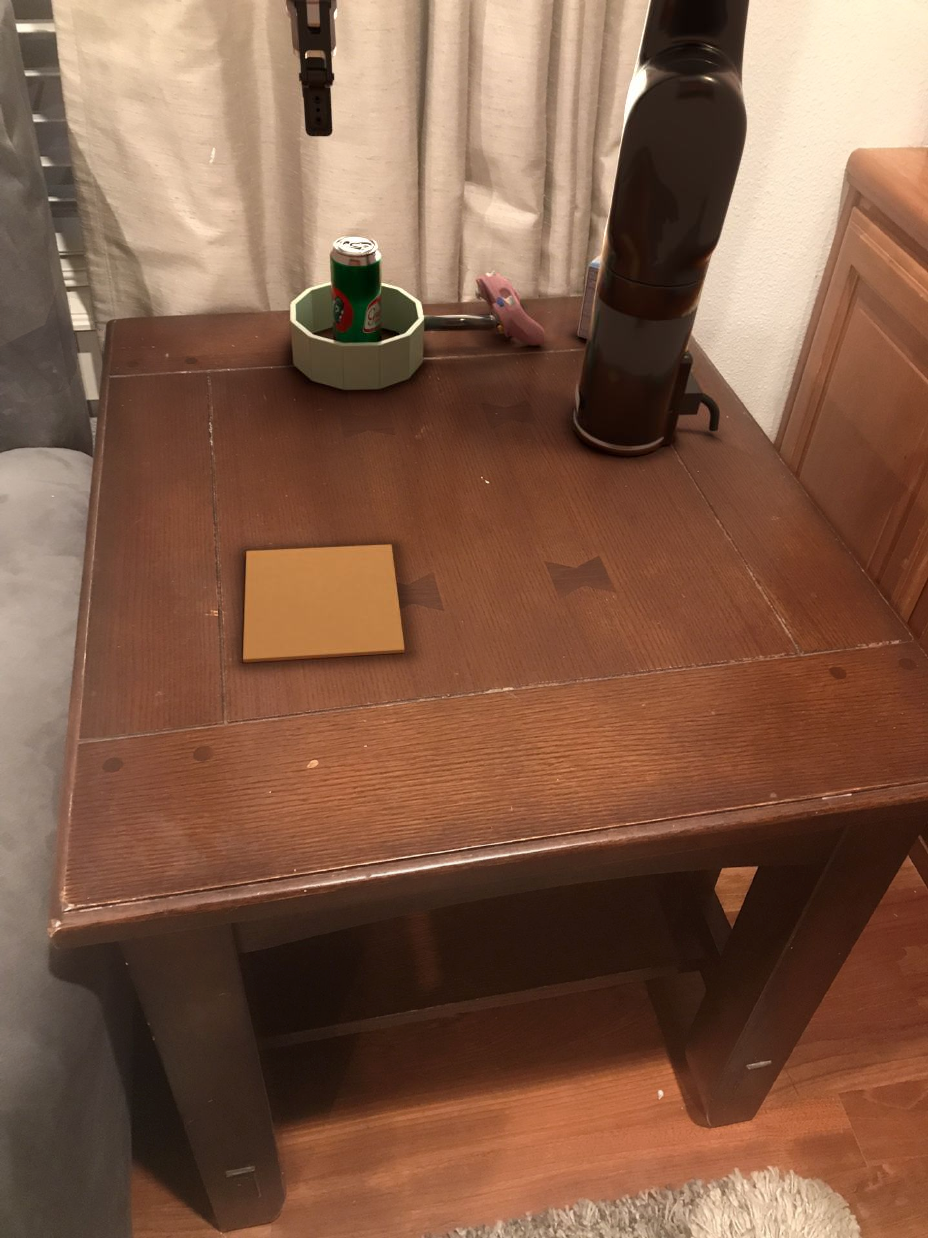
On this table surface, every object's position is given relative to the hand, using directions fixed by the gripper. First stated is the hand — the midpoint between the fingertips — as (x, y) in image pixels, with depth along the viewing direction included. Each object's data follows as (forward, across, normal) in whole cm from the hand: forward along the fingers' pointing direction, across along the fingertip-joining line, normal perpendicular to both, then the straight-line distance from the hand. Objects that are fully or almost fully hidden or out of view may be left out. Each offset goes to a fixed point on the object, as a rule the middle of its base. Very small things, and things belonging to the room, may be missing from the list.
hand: (317, 116), depth 82 cm
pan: (+25, +3, -7) cm, 26 cm away
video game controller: (+25, +7, -20) cm, 33 cm away
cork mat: (+24, -34, +2) cm, 42 cm away
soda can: (+25, +3, -3) cm, 25 cm away
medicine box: (+25, +4, -32) cm, 41 cm away
